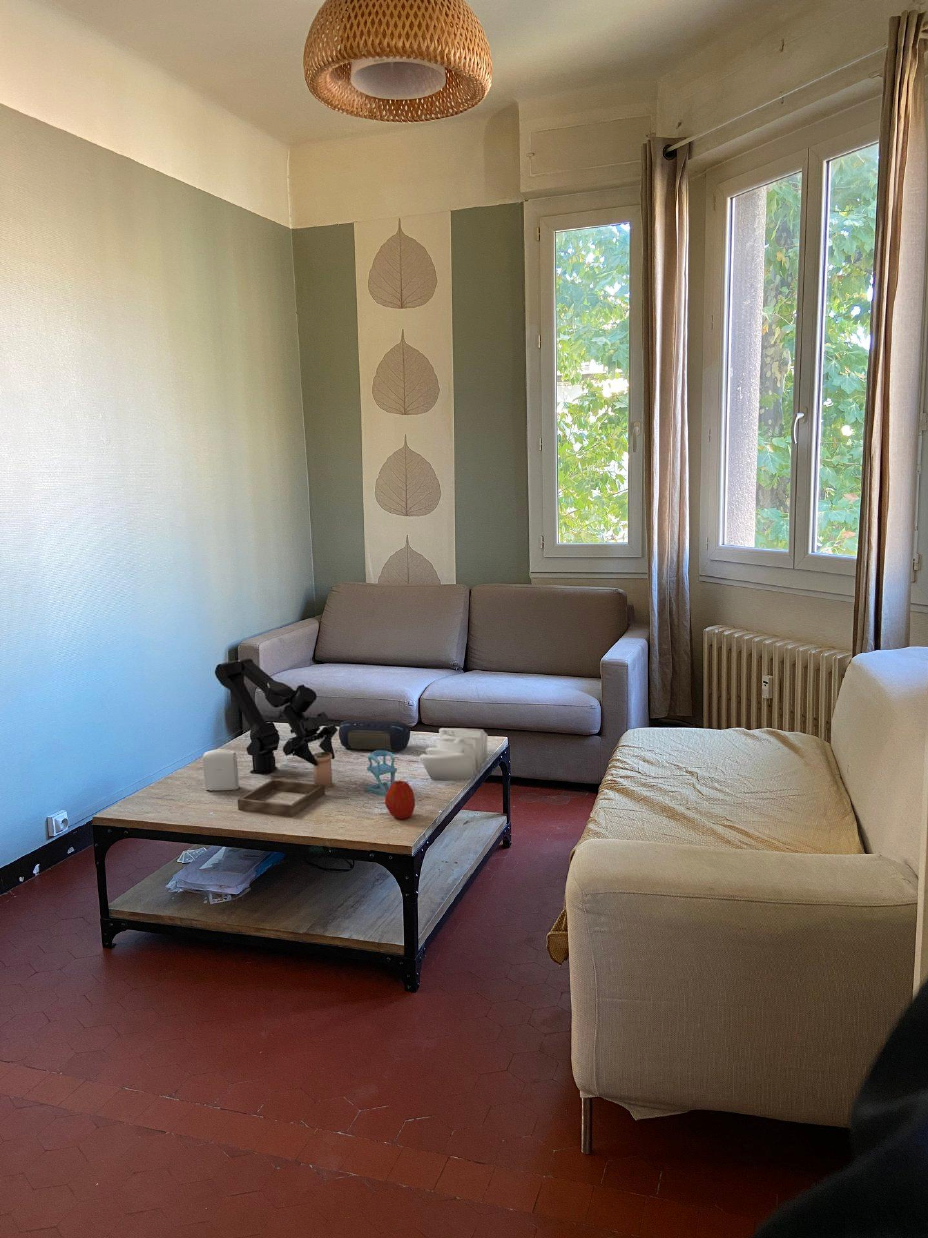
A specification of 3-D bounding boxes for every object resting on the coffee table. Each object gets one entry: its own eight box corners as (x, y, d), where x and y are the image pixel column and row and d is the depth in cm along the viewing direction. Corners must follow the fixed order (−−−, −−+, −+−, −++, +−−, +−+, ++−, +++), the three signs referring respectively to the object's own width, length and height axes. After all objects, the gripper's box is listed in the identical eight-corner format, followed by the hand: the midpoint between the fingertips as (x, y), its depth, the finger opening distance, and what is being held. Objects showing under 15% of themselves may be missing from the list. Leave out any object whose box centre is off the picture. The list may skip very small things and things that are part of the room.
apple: (380, 820, 244) (379, 782, 242) (394, 809, 251) (393, 773, 249) (407, 824, 240) (405, 786, 239) (421, 813, 248) (419, 776, 246)
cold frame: (238, 809, 255) (237, 799, 254) (273, 788, 271) (272, 778, 271) (292, 816, 248) (292, 806, 248) (325, 794, 265) (324, 784, 264)
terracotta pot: (313, 791, 268) (311, 759, 266) (313, 784, 274) (311, 752, 272) (334, 789, 269) (332, 757, 267) (333, 782, 275) (331, 751, 273)
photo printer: (203, 791, 270) (200, 752, 268) (207, 786, 274) (204, 748, 272) (237, 791, 270) (234, 751, 268) (240, 786, 274) (238, 747, 272)
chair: (378, 797, 261) (377, 758, 259) (364, 790, 268) (362, 751, 266) (401, 791, 265) (399, 753, 263) (386, 784, 272) (385, 746, 270)
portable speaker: (334, 751, 306) (333, 723, 304) (345, 743, 315) (344, 715, 314) (404, 755, 300) (403, 726, 298) (413, 746, 309) (412, 718, 308)
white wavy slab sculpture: (466, 788, 267) (465, 754, 265) (414, 784, 272) (413, 750, 270) (496, 752, 300) (495, 722, 298) (449, 749, 305) (448, 719, 303)
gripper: (287, 712, 262) (315, 755, 258) (332, 699, 277) (359, 738, 273) (270, 734, 268) (298, 776, 264) (315, 719, 283) (342, 759, 278)
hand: (325, 761), depth 269 cm, fingers open, 7 cm apart
